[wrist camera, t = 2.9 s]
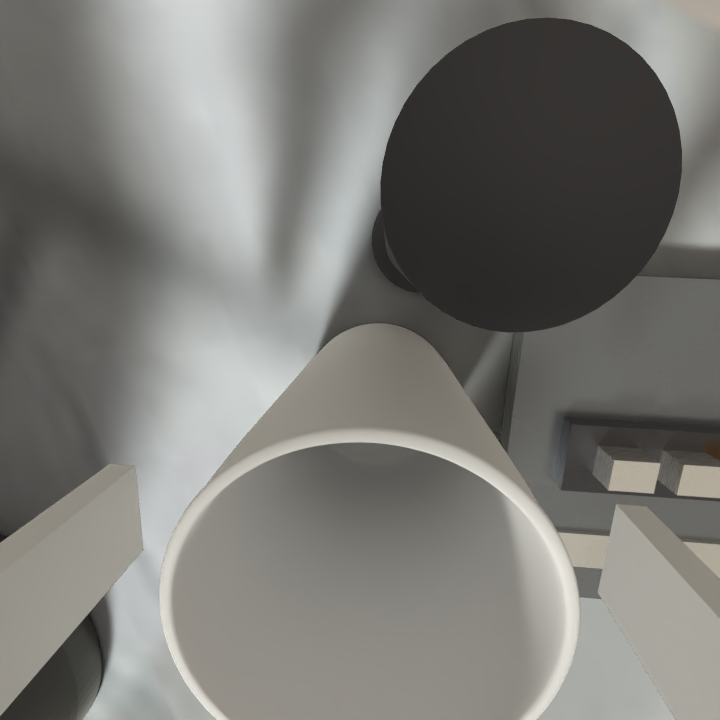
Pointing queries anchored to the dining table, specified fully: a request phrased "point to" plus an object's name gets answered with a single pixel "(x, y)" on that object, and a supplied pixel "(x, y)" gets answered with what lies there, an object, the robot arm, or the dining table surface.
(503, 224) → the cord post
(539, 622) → the mug
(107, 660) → the dining table surface
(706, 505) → the breaker panel
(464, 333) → the dining table surface
